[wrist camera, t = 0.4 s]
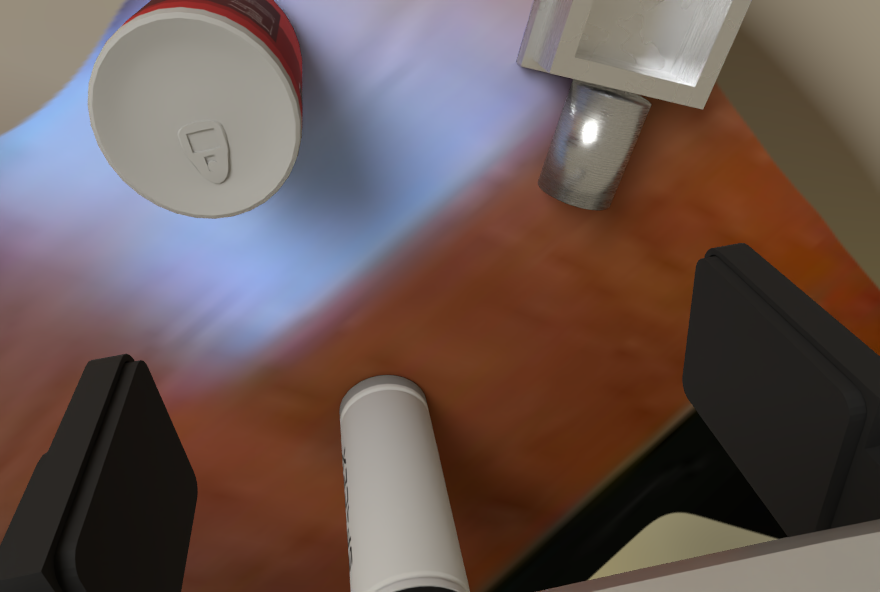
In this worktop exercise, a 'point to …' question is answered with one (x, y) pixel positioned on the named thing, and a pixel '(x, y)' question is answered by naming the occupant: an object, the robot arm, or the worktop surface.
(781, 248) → the worktop surface
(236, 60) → the canned food
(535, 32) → the fitting
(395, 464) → the travel mug
